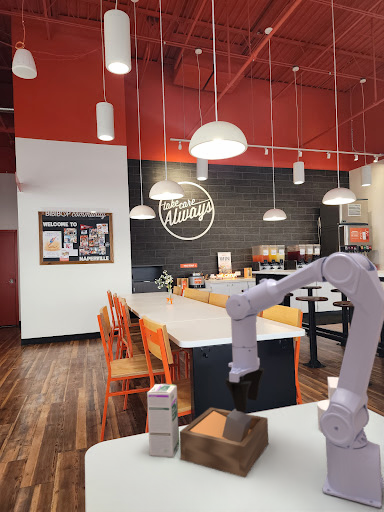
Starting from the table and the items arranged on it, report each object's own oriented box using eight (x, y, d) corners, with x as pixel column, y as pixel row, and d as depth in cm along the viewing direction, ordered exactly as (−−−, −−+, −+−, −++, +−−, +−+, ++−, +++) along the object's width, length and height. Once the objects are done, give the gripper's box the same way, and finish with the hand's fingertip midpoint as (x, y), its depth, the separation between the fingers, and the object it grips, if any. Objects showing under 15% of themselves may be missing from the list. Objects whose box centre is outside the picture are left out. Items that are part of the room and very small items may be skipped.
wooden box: (268, 443, 83) (267, 417, 83) (245, 477, 70) (244, 446, 70) (211, 430, 90) (210, 407, 91) (180, 459, 77) (179, 431, 77)
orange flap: (257, 437, 83) (258, 433, 82) (237, 462, 72) (238, 457, 72) (213, 414, 88) (213, 410, 88) (189, 434, 78) (190, 430, 78)
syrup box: (173, 458, 78) (171, 392, 78) (148, 456, 79) (146, 391, 80) (179, 445, 83) (177, 383, 84) (156, 443, 85) (154, 383, 85)
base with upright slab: (359, 440, 83) (356, 389, 84) (319, 436, 86) (316, 386, 86) (354, 424, 92) (351, 378, 92) (317, 420, 94) (315, 375, 95)
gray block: (247, 437, 80) (252, 417, 79) (239, 446, 76) (244, 425, 76) (230, 428, 82) (234, 408, 82) (222, 436, 78) (226, 415, 78)
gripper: (239, 338, 89) (242, 392, 88) (215, 350, 76) (217, 413, 76) (266, 340, 86) (269, 396, 85) (245, 353, 73) (248, 419, 72)
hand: (247, 405), depth 80 cm, fingers open, 7 cm apart
